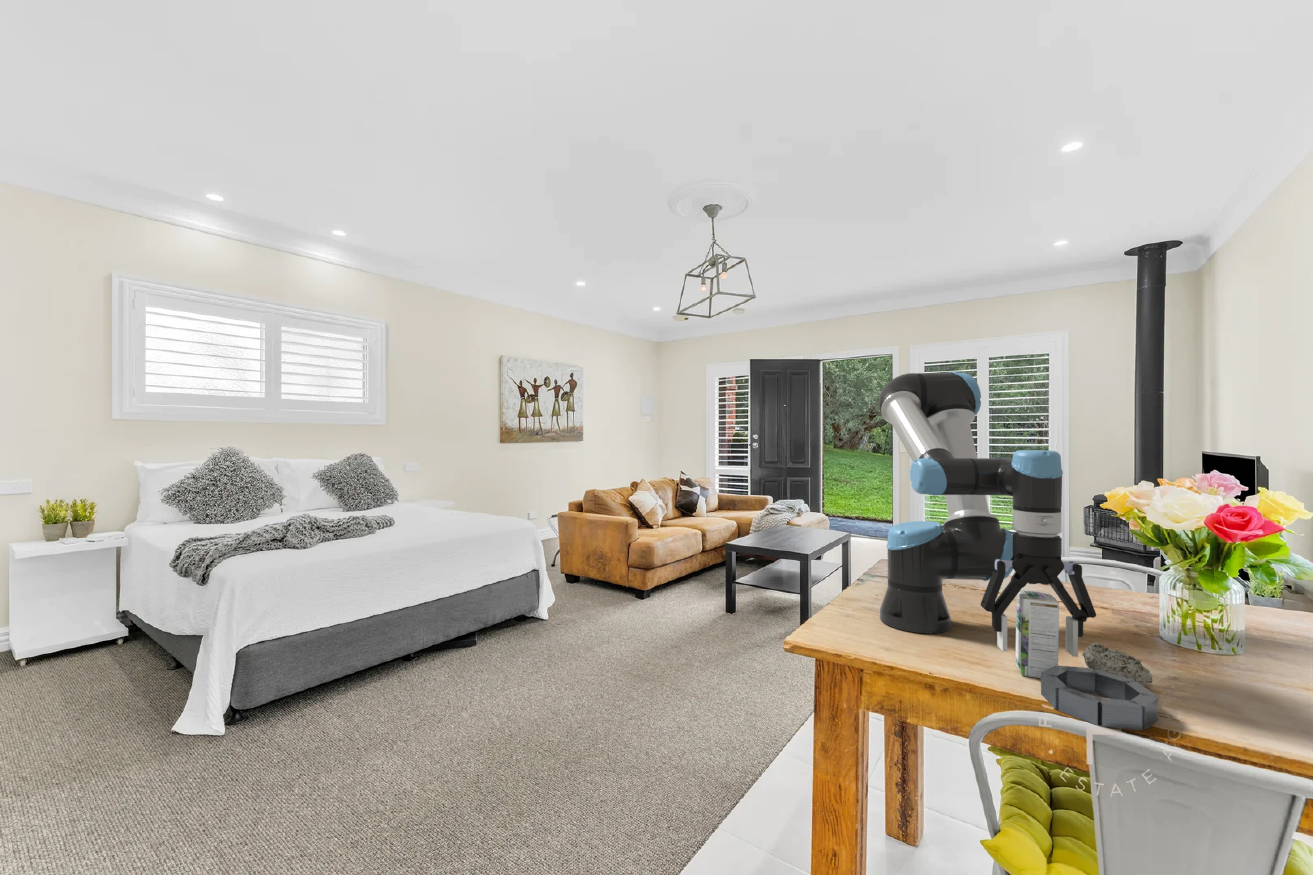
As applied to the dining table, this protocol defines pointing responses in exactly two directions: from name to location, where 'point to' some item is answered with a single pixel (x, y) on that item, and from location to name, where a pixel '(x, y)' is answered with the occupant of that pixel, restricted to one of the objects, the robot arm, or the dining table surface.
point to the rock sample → (1116, 663)
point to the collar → (1123, 710)
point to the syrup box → (1036, 632)
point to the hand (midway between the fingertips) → (1036, 651)
